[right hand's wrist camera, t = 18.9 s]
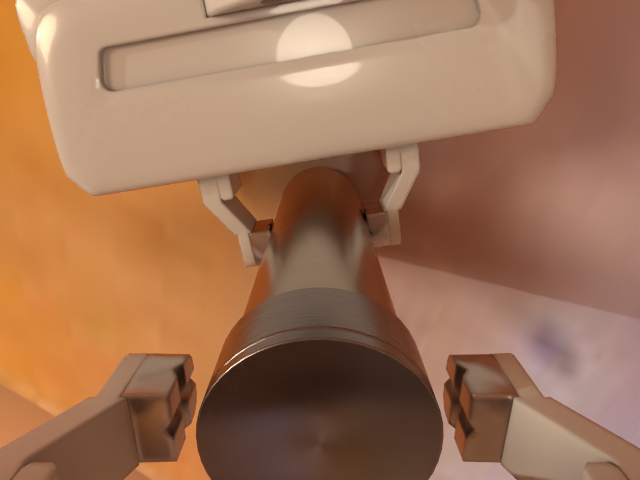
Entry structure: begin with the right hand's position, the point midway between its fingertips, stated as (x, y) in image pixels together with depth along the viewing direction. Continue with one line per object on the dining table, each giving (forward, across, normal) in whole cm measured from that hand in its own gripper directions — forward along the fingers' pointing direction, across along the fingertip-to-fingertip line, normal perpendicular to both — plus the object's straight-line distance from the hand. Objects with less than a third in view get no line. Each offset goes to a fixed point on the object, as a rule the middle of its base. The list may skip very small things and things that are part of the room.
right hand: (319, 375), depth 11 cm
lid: (-2, 0, 0) cm, 2 cm away
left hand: (+10, 0, -1) cm, 10 cm away
